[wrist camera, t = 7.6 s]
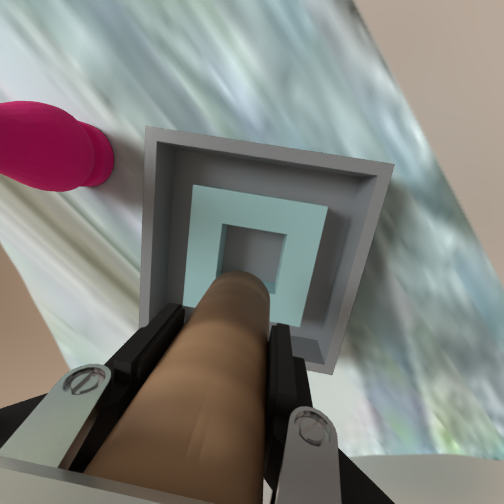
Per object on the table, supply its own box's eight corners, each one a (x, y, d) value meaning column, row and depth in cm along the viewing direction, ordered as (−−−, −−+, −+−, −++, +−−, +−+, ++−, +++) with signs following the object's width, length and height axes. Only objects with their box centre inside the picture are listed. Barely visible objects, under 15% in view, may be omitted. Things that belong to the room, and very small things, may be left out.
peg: (210, 265, 15) (-23, 536, 3) (275, 276, 15) (279, 609, 3) (204, 322, 16) (10, 687, 4) (264, 334, 16) (235, 748, 4)
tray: (170, 138, 24) (145, 125, 20) (369, 169, 24) (394, 164, 19) (160, 313, 30) (138, 337, 25) (322, 343, 29) (332, 375, 24)
